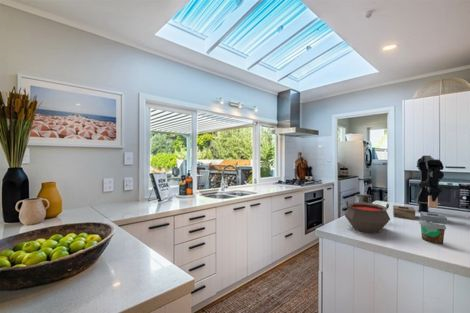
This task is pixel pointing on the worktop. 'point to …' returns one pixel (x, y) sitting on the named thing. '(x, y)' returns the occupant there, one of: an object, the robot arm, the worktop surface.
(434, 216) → the frame
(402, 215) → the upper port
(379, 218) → the faceted brown planter
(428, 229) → the food container
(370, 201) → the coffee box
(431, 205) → the plug
